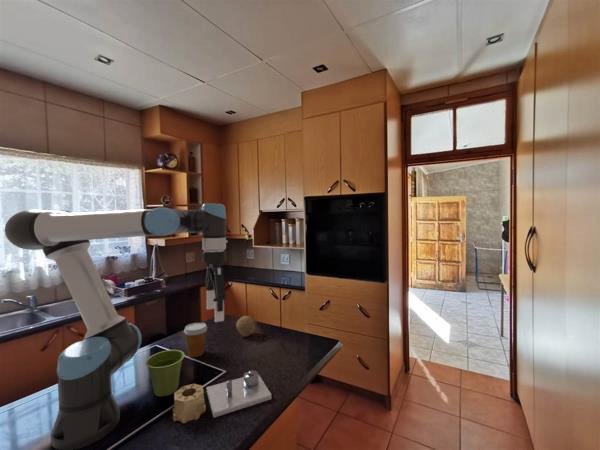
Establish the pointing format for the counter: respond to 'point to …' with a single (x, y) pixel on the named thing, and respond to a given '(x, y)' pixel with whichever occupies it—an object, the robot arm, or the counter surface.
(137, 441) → the counter surface
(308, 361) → the counter surface
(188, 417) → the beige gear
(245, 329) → the natural sponge
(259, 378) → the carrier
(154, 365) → the plant pot
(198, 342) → the disposable coffee cup
